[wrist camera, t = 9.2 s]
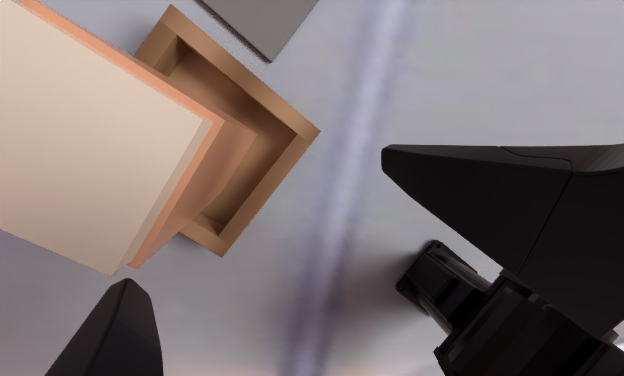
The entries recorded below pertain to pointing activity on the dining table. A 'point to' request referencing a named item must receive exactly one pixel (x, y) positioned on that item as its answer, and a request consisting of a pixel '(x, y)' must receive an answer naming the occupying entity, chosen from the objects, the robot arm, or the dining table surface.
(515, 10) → the dining table surface
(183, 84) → the bin
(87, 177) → the tall peach block
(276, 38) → the coaster
